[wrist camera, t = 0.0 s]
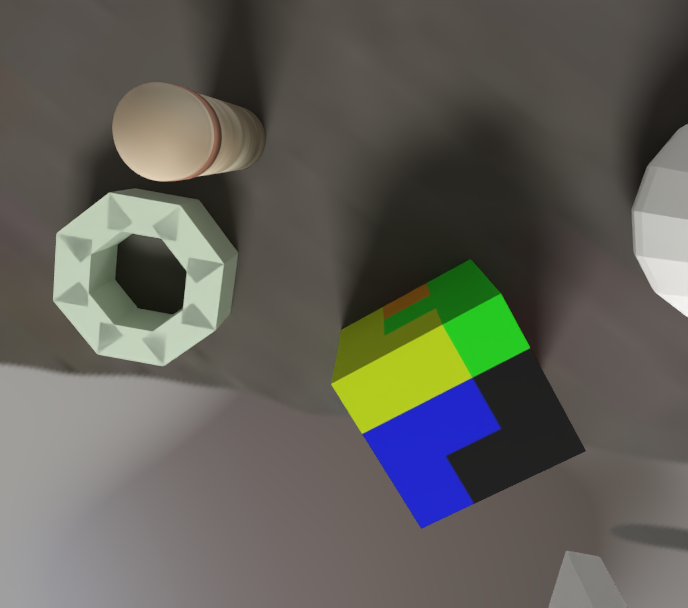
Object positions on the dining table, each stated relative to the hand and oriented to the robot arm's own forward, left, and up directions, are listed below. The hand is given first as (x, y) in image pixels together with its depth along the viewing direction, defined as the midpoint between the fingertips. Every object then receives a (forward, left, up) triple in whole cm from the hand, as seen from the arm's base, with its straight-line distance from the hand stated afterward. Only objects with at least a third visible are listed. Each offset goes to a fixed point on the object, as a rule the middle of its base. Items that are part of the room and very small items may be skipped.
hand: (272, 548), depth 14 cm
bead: (+1, -12, -28) cm, 31 cm away
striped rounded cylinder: (-8, -8, -28) cm, 30 cm away
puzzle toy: (+4, +8, -28) cm, 30 cm away
